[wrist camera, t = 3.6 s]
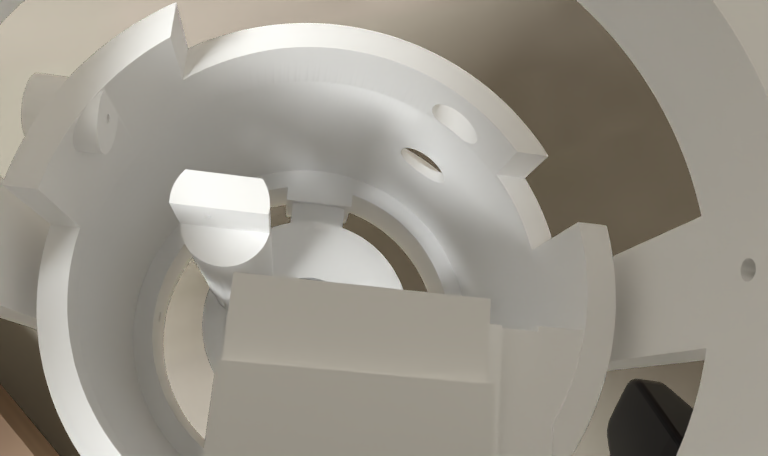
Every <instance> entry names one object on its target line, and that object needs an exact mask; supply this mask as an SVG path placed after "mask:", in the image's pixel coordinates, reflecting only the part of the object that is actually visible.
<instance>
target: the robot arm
mask: <svg viewBox="0 0 768 456" xmlns="http://www.w3.org/2000/svg"><path fill="white" fill-rule="evenodd" d="M692 412H693V408H691V407H690V406H689V405H688V404H687V403H686V402H684V401H683V400H682V399H681V398H680V397H679V396H677V395H676V394H675V393H674V392H673V391H672V390H670V389H669V388H668V387H667V386H666V385H664V384H663V383H661V382H657V381H650V380H643V379H633V380H631V381H630V382H629V383H628V384H627V386H626V387H625V389H624V391H623V393H622V395H621V397H620V399H619V401H618V403H617V405H616V407H615V410H614V412H613V414H612V416H611V418H610V420H609V423H608V429H607V438H608V445H609V451H610V456H676V455H677V452H678V450H679V448H680V445H681V443H682V440H683V438H684V435H685V432H686V430H687V427H688V424H689V421H690V418H691V415H692Z"/></svg>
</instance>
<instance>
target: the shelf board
mask: <svg viewBox="0 0 768 456" xmlns="http://www.w3.org/2000/svg"><path fill="white" fill-rule="evenodd" d="M0 456H59V454H58V453H57V452H56V451H55V449H54V448H53V447H52V446H51V445H50V443H49V442H48V441H47V440H46V439H45V437H44V436H43V435H42V434H41V432H40V431H39V430H38V429H37V428H36V426H35V425H34V424H33V423H32V422H31V420H30V419H29V418H28V417H27V416H26V414H25V413H24V412H23V411H22V409H21V408H20V407H19V406H18V405H17V403H16V402H15V401H14V400H13V399H12V397H11V396H10V395H9V394H8V392H7V391H6V390H5V389H4V388H3V386H2V385H1V384H0Z"/></svg>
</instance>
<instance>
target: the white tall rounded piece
mask: <svg viewBox="0 0 768 456" xmlns="http://www.w3.org/2000/svg"><path fill="white" fill-rule="evenodd" d="M24 1H25V0H0V24H1V23H2V22H3V21H4V20H5V19H6V18H7V17H8V16H9V15H10V14H11V13H12V12H13V11H14V10H15V9H16V8H17V7H18V6H19V5H20V4H21V3H22V2H24ZM576 1H577V2H578V3H580V4H581V5H582V6H583V7H584V8H585V9H586V10H587V11H588V12H589V13H590V14H591V15H592V16H593V17H594V18H595V19H596V20H597V21H598V22H599V23H600V24H601V25H602V26H603V27H604V28H605V30H606V31H607V32H608V33H609V34H610V35H611V36H612V37H613V39H614V40H615V41H616V42H617V43H618V45H619V46H620V47H621V48H622V49H623V51H624V52H625V53H626V55H627V56H628V57H629V58H630V60H631V61H632V63H633V64H634V65H635V67H636V68H637V69H638V71H639V72H640V74H641V75H642V77H643V78H644V80H645V81H646V83H647V84H648V86H649V88H650V89H651V91H652V92H653V94H654V96H655V98H656V99H657V101H658V103H659V105H660V106H661V108H662V110H663V112H664V114H665V116H666V118H667V120H668V122H669V124H670V126H671V128H672V130H673V132H674V134H675V137H676V139H677V141H678V143H679V146H680V148H681V151H682V153H683V156H684V158H685V161H686V164H687V167H688V170H689V173H690V176H691V179H692V182H693V185H694V189H695V192H696V196H697V200H698V204H699V208H700V212H701V217H698V218H696V219H694V220H692V221H689V222H687V223H685V224H683V225H681V226H678V227H676V228H674V229H672V230H670V231H667V232H665V233H663V234H661V235H658V236H656V237H654V238H652V239H650V240H647V241H645V242H643V243H641V244H638V245H636V246H634V247H632V248H630V249H627V250H625V251H623V252H621V253H619V254H616V255H614V256H613V255H612V249H611V243H610V238H609V233H608V229H607V225H599V224H591V223H582V222H577V223H576V224H574V225H572V226H571V227H569V228H567V229H566V230H564V231H563V232H561V233H559V234H558V235H556V236H554V237H553V238H552V237H551V234H550V231H549V228H548V225H547V222H546V220H545V217H544V215H543V212H542V210H541V208H540V205H539V203H538V201H537V199H536V197H535V195H534V193H533V191H532V190H531V188H530V186H529V184H528V183H527V181H526V179H525V178H526V177H527V176H528V175H529V174H530V173H531V172H532V171H533V170H534V169H535V168H536V167H537V166H538V165H540V164H541V163H542V162H543V161H544V160H545V159H546V158H547V157H548V154H547V153H546V151H545V150H544V148H543V147H542V145H541V144H540V142H539V141H538V140H537V138H536V137H535V136H534V134H533V133H532V132H531V131H530V129H529V128H528V127H527V126H526V124H525V123H524V122H523V121H522V120H521V119H520V118H519V116H518V115H517V114H516V113H515V112H514V111H513V110H512V109H511V108H510V107H509V106H508V105H507V104H506V103H505V102H504V101H503V100H502V99H501V98H500V97H498V96H497V95H496V94H495V93H494V92H493V91H492V90H490V89H489V88H488V87H487V86H485V85H484V84H483V83H482V82H480V81H479V80H478V79H476V78H475V77H474V76H472V75H471V74H469V73H468V72H466V71H465V70H463V69H462V68H460V67H459V66H457V65H455V64H454V63H452V62H450V61H448V60H447V59H445V58H443V57H441V56H439V55H437V54H435V53H433V52H431V51H429V50H427V49H425V48H423V47H420V46H418V45H416V44H413V43H411V42H408V41H405V40H402V39H400V38H397V37H393V36H390V35H387V34H383V33H380V32H376V31H372V30H367V29H362V28H357V27H351V26H344V25H335V24H322V23H291V24H278V25H269V26H262V27H256V28H251V29H246V30H241V31H237V32H233V33H230V34H226V35H223V36H219V37H216V38H213V39H210V40H208V41H205V42H202V43H200V44H197V45H195V46H193V47H190V48H188V46H187V42H186V38H185V34H184V30H183V26H182V22H181V18H180V14H179V10H178V6H177V2H175V3H173V4H171V5H169V6H167V7H164V8H162V9H160V10H158V11H156V12H154V13H153V14H151V15H149V16H147V17H145V18H143V19H142V20H140V21H138V22H137V23H135V24H133V25H132V26H130V27H129V28H127V29H126V30H124V31H123V32H121V33H120V34H118V35H117V36H115V37H114V38H113V39H111V40H110V41H109V42H107V43H106V44H105V45H103V46H102V47H101V48H100V49H99V50H97V51H96V52H95V53H94V54H93V55H91V56H90V57H89V58H88V59H87V60H86V61H85V62H84V63H83V64H82V65H80V66H79V67H78V68H77V69H76V70H75V71H74V72H73V73H72V74H71V75H70V77H66V76H59V75H51V74H44V73H34V74H33V75H32V76H31V77H30V78H29V80H28V82H27V84H26V87H25V90H24V94H23V98H22V106H21V122H22V129H23V133H24V136H25V137H24V139H23V140H22V142H21V144H20V146H19V148H18V150H17V152H16V154H15V156H14V158H13V160H12V162H11V164H10V166H9V169H8V171H7V173H6V176H5V178H4V179H3V178H2V177H1V176H0V318H2V319H5V320H9V321H12V322H15V323H18V324H21V325H24V326H27V327H30V328H34V329H37V332H38V342H39V349H40V355H41V361H42V366H43V370H44V374H45V378H46V382H47V385H48V388H49V391H50V394H51V397H52V400H53V403H54V405H55V408H56V410H57V413H58V415H59V417H60V420H61V422H62V424H63V426H64V428H65V430H66V432H67V434H68V436H69V438H70V439H71V441H72V443H73V444H74V446H75V448H76V449H77V451H78V453H79V454H80V456H572V455H573V453H574V451H575V450H576V448H577V446H578V444H579V443H580V441H581V439H582V437H583V435H584V433H585V431H586V429H587V427H588V424H589V422H590V420H591V418H592V415H593V413H594V410H595V408H596V405H597V403H598V400H599V397H600V394H601V391H602V388H603V384H604V381H605V377H606V374H607V371H612V370H621V369H630V368H639V367H649V366H658V365H667V364H676V363H685V362H694V361H704V360H705V361H704V366H703V372H702V377H701V381H700V386H699V390H698V394H697V398H696V401H695V405H694V408H693V412H692V415H691V418H690V421H689V424H688V427H687V430H686V432H685V435H684V438H683V440H682V443H681V445H680V448H679V450H678V452H677V455H676V456H768V0H576ZM406 148H411V149H414V150H417V151H419V152H421V153H423V154H424V155H426V156H427V157H429V158H430V159H431V160H432V161H433V162H434V163H435V164H436V165H437V166H438V167H439V169H440V170H441V172H439V171H438V170H437V169H436V168H434V167H433V166H432V165H431V164H429V163H428V162H426V161H425V160H424V159H422V158H421V157H419V156H417V155H416V154H414V153H413V152H411V151H409V150H408V149H406ZM283 205H286V217H291V223H287V224H282V225H278V226H275V227H272V228H271V217H270V208H272V207H277V206H283ZM349 213H351V214H353V215H356V216H358V217H360V218H362V219H364V220H366V221H368V222H369V223H371V224H373V225H374V226H376V227H377V228H379V229H380V230H382V231H383V232H384V233H385V234H387V235H388V236H389V237H390V238H391V239H392V240H394V241H395V242H396V243H397V244H398V245H399V246H400V248H401V249H402V250H403V251H404V252H405V253H406V255H407V256H408V257H409V258H410V260H411V261H412V263H413V264H414V266H415V267H416V269H417V271H418V272H419V274H420V276H421V278H422V280H423V282H424V285H425V287H426V289H427V292H421V291H412V290H403V288H402V285H401V283H400V280H399V278H398V276H397V275H396V273H395V271H394V269H393V268H392V266H391V265H390V263H389V262H388V261H387V260H386V258H385V257H384V256H383V255H382V254H381V253H380V252H379V251H378V250H377V249H376V248H375V247H374V246H373V245H372V244H370V243H369V242H368V241H366V240H365V239H363V238H362V237H360V236H359V235H357V234H355V233H353V232H351V231H349V230H347V229H344V228H342V227H343V223H346V220H347V218H348V215H349ZM192 258H193V259H194V261H195V262H196V264H197V266H198V268H199V269H200V271H201V273H202V275H203V276H204V278H205V280H206V282H207V283H208V285H209V287H210V288H209V291H208V294H207V297H206V301H205V305H204V311H203V322H202V329H203V340H204V346H205V350H206V354H207V357H208V360H209V363H210V365H211V368H212V370H213V372H214V379H213V386H212V393H211V401H210V408H209V415H208V422H207V429H206V436H205V440H204V439H203V438H202V437H201V436H200V434H199V433H198V432H197V431H196V430H195V429H194V428H193V426H192V425H191V424H190V422H189V421H188V420H187V418H186V417H185V415H184V414H183V412H182V410H181V408H180V407H179V405H178V403H177V401H176V399H175V396H174V394H173V391H172V389H171V386H170V383H169V380H168V376H167V372H166V367H165V360H164V348H163V337H164V325H165V318H166V313H167V309H168V305H169V302H170V299H171V296H172V293H173V291H174V288H175V286H176V284H177V282H178V280H179V278H180V276H181V274H182V273H183V271H184V269H185V268H186V266H187V265H188V263H189V262H190V260H191V259H192Z"/></svg>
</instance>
